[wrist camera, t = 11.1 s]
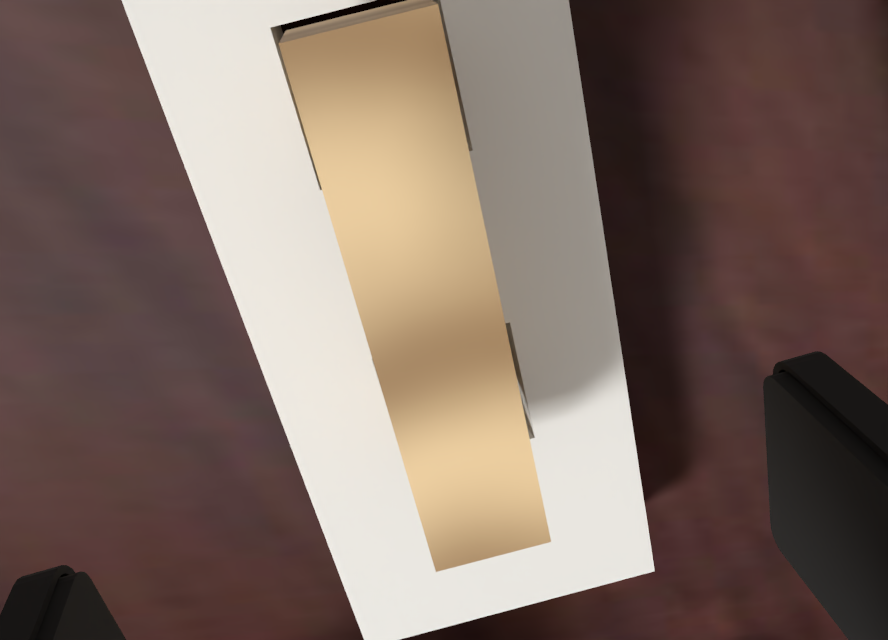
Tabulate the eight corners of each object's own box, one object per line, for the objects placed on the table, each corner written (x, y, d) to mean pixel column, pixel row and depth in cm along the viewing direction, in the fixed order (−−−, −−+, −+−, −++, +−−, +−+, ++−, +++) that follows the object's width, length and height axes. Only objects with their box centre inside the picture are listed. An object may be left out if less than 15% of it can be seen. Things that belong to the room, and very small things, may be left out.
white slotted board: (63, -243, 19) (17, -275, 16) (483, -349, 19) (509, -398, 16) (364, 584, 30) (367, 648, 27) (626, 514, 30) (654, 571, 27)
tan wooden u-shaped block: (295, 12, 22) (278, 43, 15) (405, -15, 22) (437, 4, 15) (410, 416, 27) (436, 572, 20) (497, 393, 27) (551, 541, 21)
